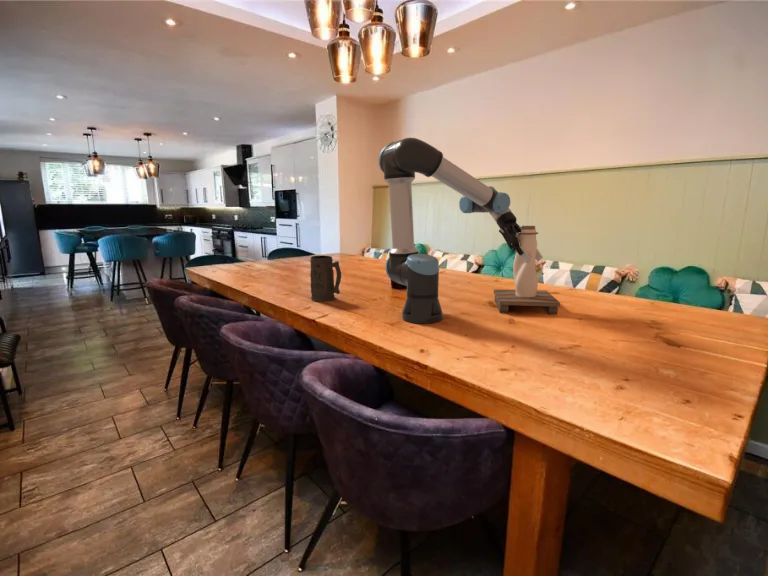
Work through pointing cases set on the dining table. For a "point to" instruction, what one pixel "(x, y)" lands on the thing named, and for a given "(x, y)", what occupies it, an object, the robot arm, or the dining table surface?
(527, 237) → the water bottle
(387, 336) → the dining table surface
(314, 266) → the beer stein
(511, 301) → the wooden riser
